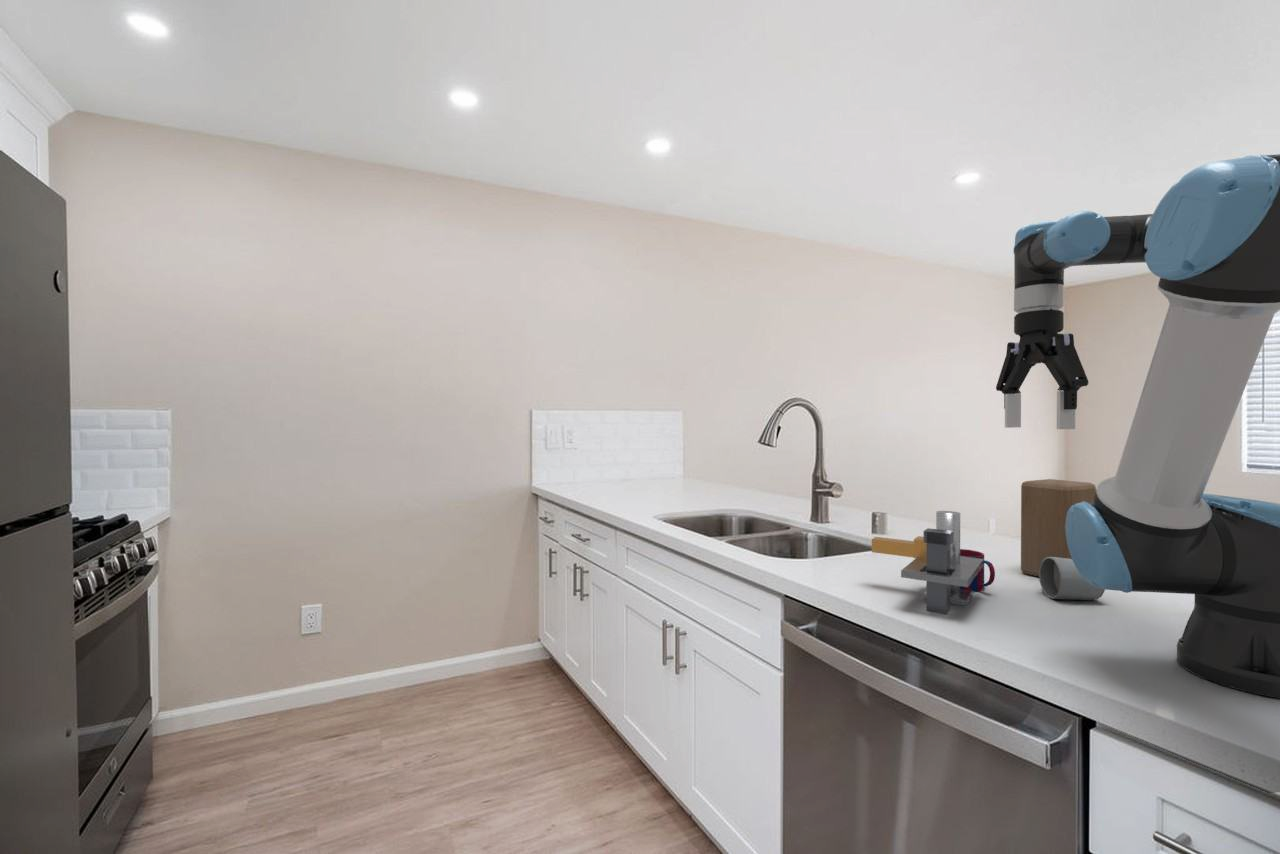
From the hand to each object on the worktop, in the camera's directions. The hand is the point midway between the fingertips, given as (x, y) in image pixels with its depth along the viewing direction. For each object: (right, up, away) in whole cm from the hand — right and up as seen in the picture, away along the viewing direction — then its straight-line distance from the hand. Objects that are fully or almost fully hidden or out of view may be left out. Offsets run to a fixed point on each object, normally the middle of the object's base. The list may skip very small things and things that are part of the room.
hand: (1037, 428), depth 109 cm
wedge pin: (-20, -32, -4) cm, 38 cm away
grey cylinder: (+7, -32, +3) cm, 33 cm away
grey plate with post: (-21, -32, +2) cm, 38 cm away
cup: (-8, -32, +8) cm, 34 cm away
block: (+15, -32, +17) cm, 39 cm away
